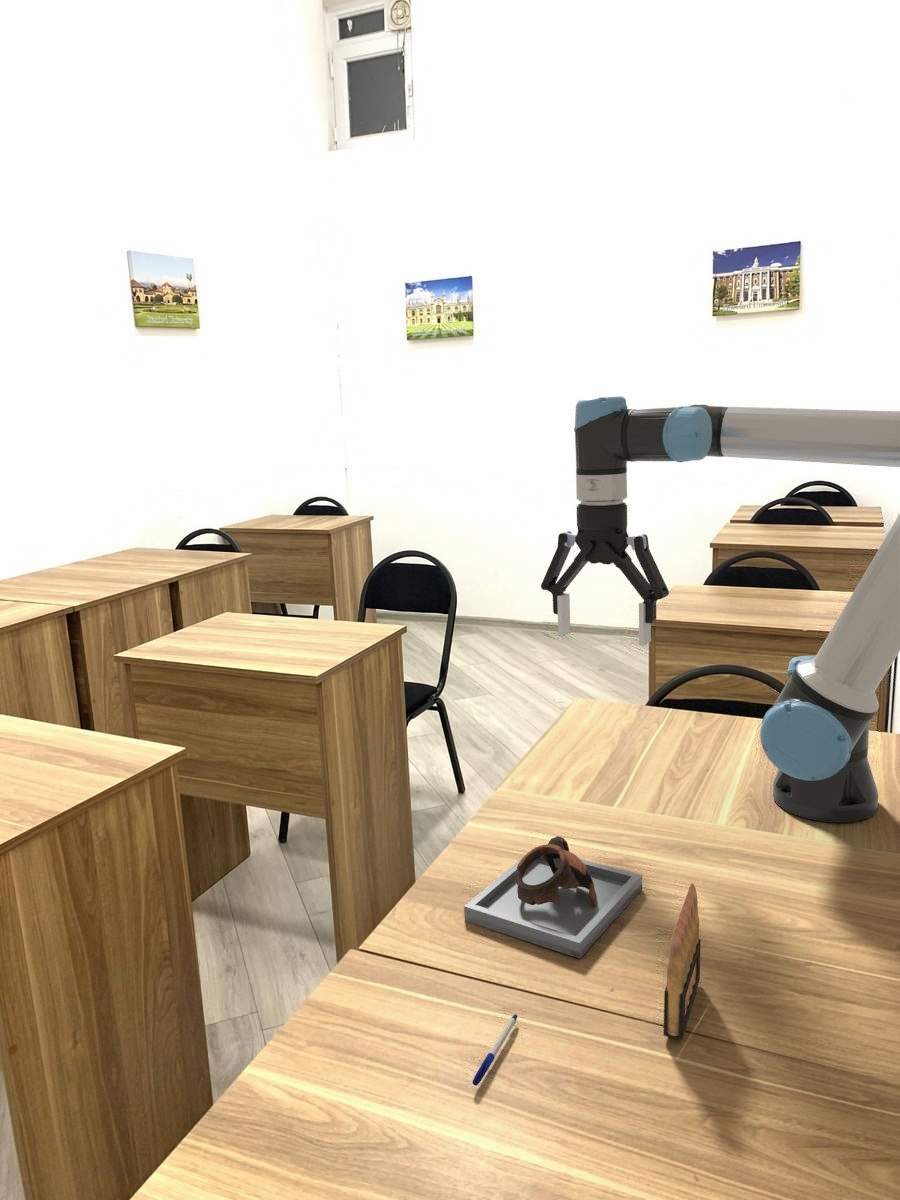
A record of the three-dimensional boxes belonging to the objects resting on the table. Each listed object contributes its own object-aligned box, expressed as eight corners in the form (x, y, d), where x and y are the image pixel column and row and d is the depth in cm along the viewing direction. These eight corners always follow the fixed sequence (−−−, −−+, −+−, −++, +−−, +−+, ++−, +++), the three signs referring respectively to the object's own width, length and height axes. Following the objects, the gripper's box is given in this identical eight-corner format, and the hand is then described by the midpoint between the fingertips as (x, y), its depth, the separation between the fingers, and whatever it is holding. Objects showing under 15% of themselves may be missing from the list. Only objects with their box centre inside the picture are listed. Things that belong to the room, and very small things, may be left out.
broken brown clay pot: (605, 923, 113) (575, 879, 110) (536, 947, 115) (505, 904, 112) (598, 853, 123) (570, 811, 120) (535, 876, 126) (506, 835, 123)
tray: (642, 889, 121) (642, 875, 120) (579, 958, 106) (579, 943, 106) (535, 860, 130) (535, 846, 129) (464, 920, 115) (464, 906, 115)
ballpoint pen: (479, 1088, 87) (479, 1079, 87) (471, 1086, 88) (471, 1077, 87) (518, 1019, 97) (518, 1011, 96) (510, 1017, 97) (510, 1008, 97)
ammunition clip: (681, 1041, 92) (684, 935, 90) (663, 1036, 93) (665, 931, 90) (699, 978, 102) (702, 880, 99) (682, 974, 103) (685, 877, 100)
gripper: (517, 503, 142) (521, 636, 147) (672, 506, 128) (671, 653, 133) (540, 497, 148) (544, 626, 153) (691, 500, 134) (690, 641, 139)
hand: (603, 639), depth 143 cm, fingers open, 13 cm apart
